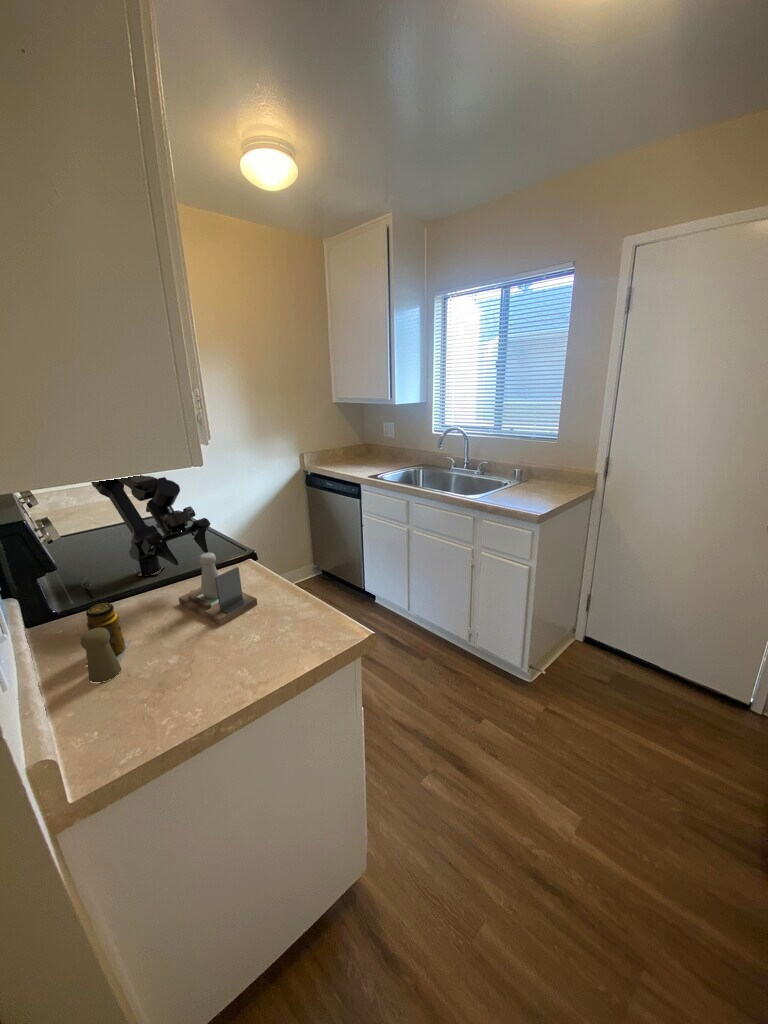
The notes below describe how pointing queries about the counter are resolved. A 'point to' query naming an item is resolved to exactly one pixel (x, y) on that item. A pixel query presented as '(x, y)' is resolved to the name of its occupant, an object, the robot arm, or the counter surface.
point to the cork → (99, 655)
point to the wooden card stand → (213, 606)
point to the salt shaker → (208, 575)
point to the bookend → (230, 591)
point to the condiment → (108, 627)
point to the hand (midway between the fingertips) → (192, 558)
